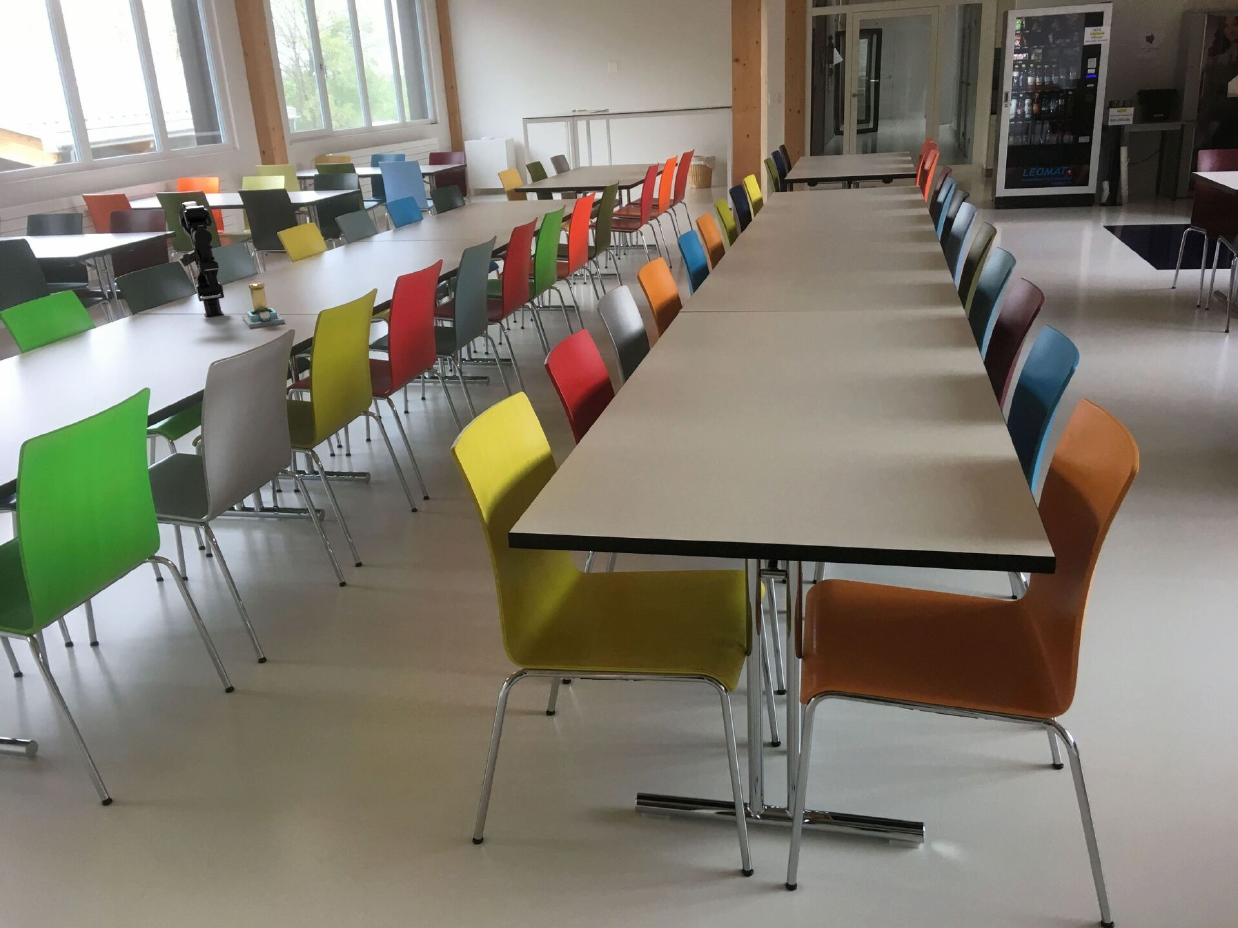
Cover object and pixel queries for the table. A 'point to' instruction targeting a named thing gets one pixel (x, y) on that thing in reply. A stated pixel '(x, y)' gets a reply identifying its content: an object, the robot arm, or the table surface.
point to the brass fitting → (258, 297)
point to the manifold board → (261, 324)
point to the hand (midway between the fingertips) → (211, 286)
